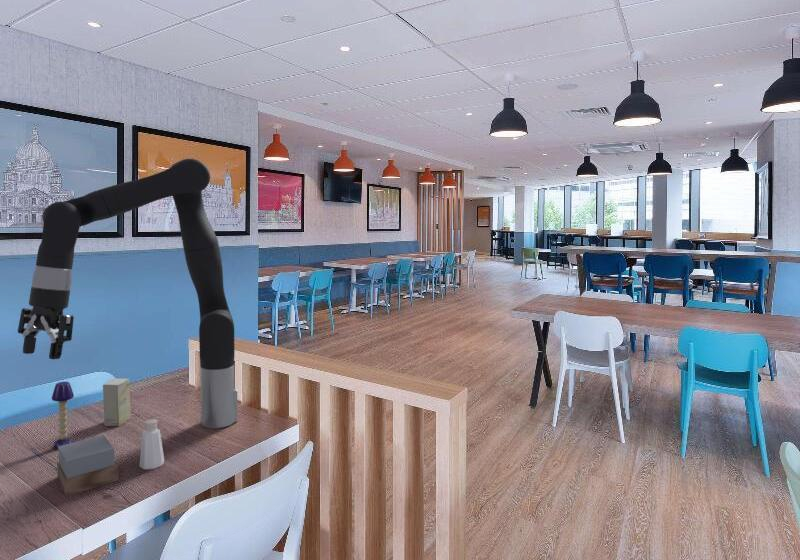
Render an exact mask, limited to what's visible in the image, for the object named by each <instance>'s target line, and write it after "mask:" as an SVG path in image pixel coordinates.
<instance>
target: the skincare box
mask: <svg viewBox="0 0 800 560" xmlns="http://www.w3.org/2000/svg"><path fill="white" fill-rule="evenodd" d="M130 391H131V389H130V378H123V377H122V378H113V379H112V380H110V381H107V382H105V383H104V384H102V393H103V394H102V397H103V417H104V426H105V427H108V426H109V427H120V426H122V425H123V424H125V423H126V422H127V420H128V421H129V420H131V419H132V411H131V392H130ZM130 418H131V419H130Z"/></svg>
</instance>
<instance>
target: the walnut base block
mask: <svg viewBox="0 0 800 560" xmlns="http://www.w3.org/2000/svg"><path fill="white" fill-rule="evenodd" d="M56 466H57V467H56V469H57V478H58V479H57V480H58V481H59V484H60V486H61V488H62V490H63V492H64V495H65V496H66V497H68V496H70V495H74V494H77V493H81V492H85V491H88V490H91V489H95V488H98V487H101V486H105V485H108V484H111V483H114V482H115V483H116V482H118V481H120V479H119V478H120V477H119V476H120V475H119V465H118V463H117V461H115V465H114V466H111V467H108V468H104V469H101V470H97V471H94V472H90V473H87V474H83V475H80V476H76V477H73V478H70V479H67V477H66V475H65V474H64V472H63V470H62V468H61V466H60V464H59V461H57V462H56Z"/></svg>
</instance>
